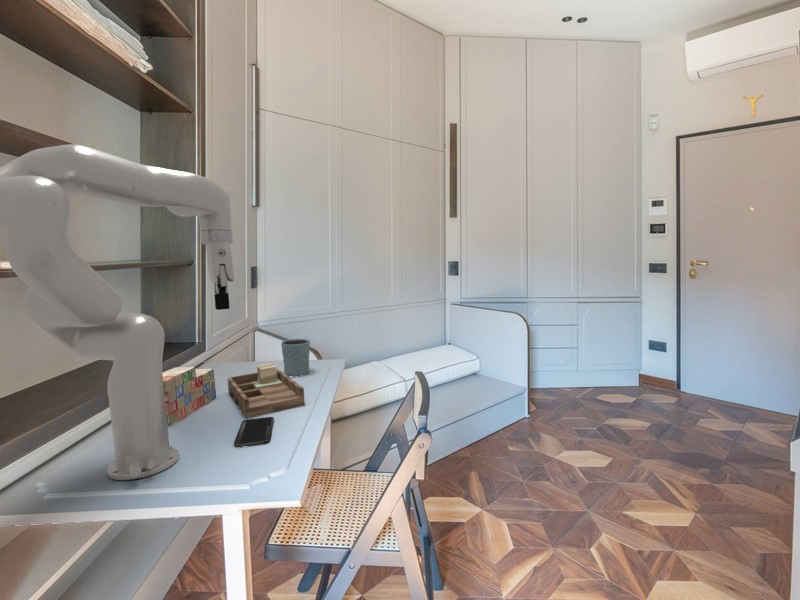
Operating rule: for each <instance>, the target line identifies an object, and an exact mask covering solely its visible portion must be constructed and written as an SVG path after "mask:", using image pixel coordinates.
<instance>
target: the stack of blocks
mask: <svg viewBox="0 0 800 600" xmlns="http://www.w3.org/2000/svg"><path fill="white" fill-rule="evenodd" d="M162 374H163V386H164V395H165V405H166V415H167V426H173V425H174V424H176V423H178V422H179V421H181V420H183V419H184V418H186V417H188V416H189V415H191V414H192V413H193V412H195V411H197V410H198V409H200V408H202V407H203V406H205V405H207V404H208V403H210V402H212V401H213V400H215V399H216V398H217V390H216V389H217V388H216V378H215V371H214V368H196V367H195V366H182V367H181V366H179V367H173V368H171V369H167V370H166V371H162Z"/></svg>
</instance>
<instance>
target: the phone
mask: <svg viewBox="0 0 800 600" xmlns="http://www.w3.org/2000/svg"><path fill="white" fill-rule="evenodd" d="M274 423H275V418H274V417H273V416H266V417H257V418H246V419H244V420H242V421H241V423H240V426H239V429H238V431H237V434H236V436H235V440H234V442H233V447H234V446H235V447H240V448H244V447H243V446H248V447H253V446H254V447H255V446H261V445H268V444H270V443H271V439H272V435H273V428H274ZM235 447H234V448H235Z"/></svg>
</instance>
